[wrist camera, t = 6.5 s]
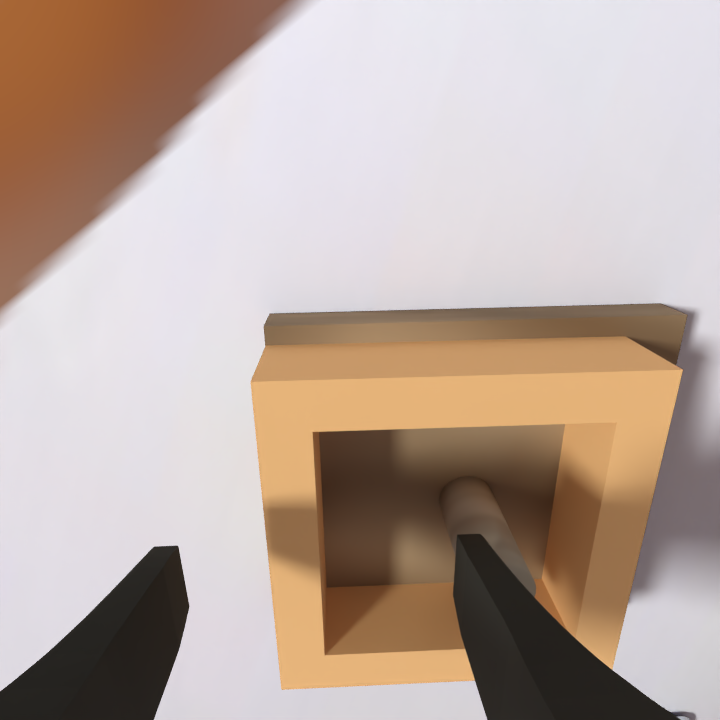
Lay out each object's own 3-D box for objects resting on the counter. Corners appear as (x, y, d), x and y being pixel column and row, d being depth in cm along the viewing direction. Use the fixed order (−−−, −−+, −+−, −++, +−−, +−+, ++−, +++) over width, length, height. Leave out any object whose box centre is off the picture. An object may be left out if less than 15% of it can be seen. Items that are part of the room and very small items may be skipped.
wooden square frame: (574, 606, 21) (611, 673, 18) (289, 618, 21) (281, 689, 18) (625, 336, 17) (682, 369, 14) (265, 345, 16) (250, 381, 13)
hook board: (599, 599, 23) (684, 738, 17) (294, 613, 22) (280, 760, 17) (660, 303, 18) (806, 364, 12) (269, 313, 17) (236, 381, 12)
